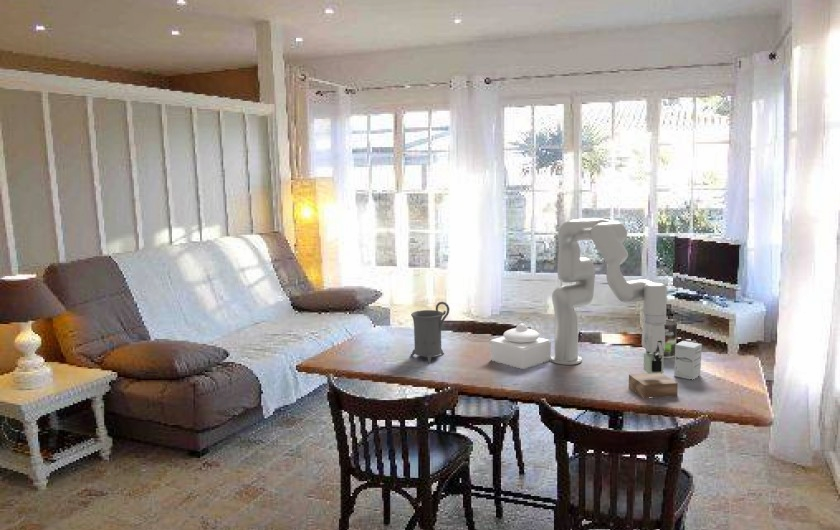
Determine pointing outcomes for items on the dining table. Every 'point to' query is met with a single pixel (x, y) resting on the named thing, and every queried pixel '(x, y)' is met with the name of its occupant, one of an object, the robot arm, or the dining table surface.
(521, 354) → the white lidded container
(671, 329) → the coffee can
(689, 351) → the supplement box
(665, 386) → the walnut box
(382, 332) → the dining table surface
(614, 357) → the dining table surface
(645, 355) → the green block
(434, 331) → the mug
